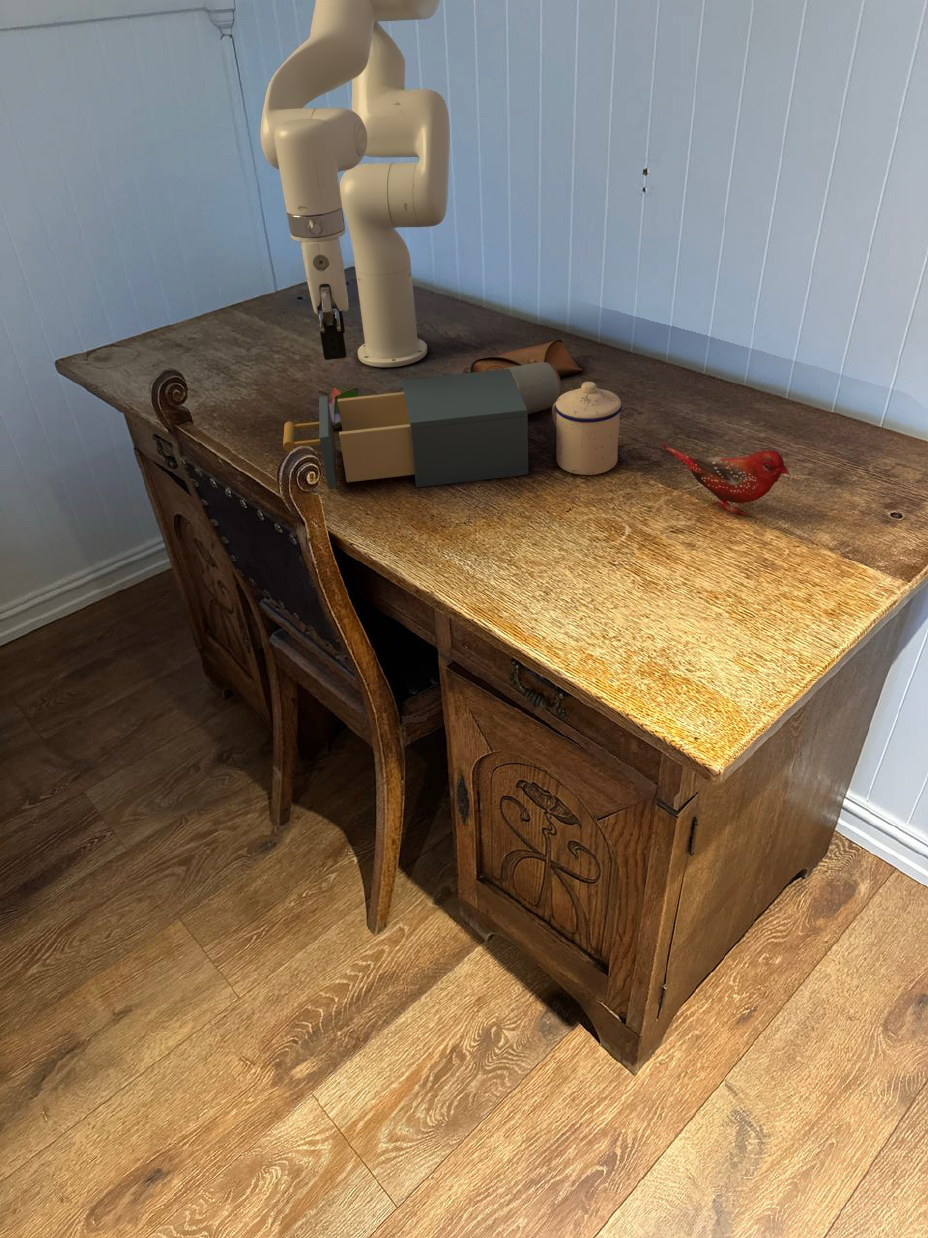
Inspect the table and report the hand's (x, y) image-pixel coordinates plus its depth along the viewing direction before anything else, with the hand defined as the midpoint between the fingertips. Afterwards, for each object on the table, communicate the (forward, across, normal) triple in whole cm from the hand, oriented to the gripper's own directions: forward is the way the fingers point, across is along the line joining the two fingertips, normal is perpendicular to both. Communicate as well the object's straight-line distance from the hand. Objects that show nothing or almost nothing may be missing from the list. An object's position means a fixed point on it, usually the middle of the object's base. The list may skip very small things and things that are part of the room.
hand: (335, 345), depth 133 cm
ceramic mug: (+13, 0, -28) cm, 31 cm away
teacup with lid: (+13, -18, -33) cm, 40 cm away
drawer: (+12, -14, -2) cm, 19 cm away
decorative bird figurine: (+13, -35, -47) cm, 60 cm away
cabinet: (+13, -14, -17) cm, 26 cm away
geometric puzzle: (+13, 0, 0) cm, 13 cm away
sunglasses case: (+13, +12, -31) cm, 36 cm away
